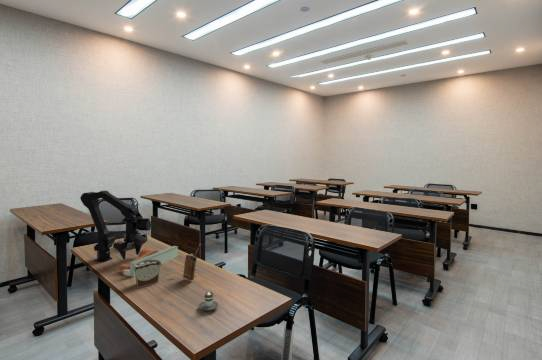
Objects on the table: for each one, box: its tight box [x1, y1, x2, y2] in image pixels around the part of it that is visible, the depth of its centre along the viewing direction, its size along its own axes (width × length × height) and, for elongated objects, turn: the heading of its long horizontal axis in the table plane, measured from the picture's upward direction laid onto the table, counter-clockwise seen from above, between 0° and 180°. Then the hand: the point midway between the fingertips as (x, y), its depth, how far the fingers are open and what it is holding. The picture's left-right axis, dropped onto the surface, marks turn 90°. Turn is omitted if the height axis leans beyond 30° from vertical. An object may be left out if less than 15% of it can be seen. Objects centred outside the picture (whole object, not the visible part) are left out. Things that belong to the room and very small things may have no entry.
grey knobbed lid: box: [198, 291, 219, 311], centre depth 115 cm, size 12×12×5 cm
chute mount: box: [123, 245, 179, 278], centre depth 156 cm, size 7×32×7 cm, turn 159°
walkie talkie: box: [166, 243, 202, 281], centre depth 138 cm, size 13×13×18 cm
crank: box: [118, 247, 159, 274], centre depth 153 cm, size 20×8×8 cm, turn 152°
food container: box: [133, 259, 162, 289], centre depth 133 cm, size 12×6×10 cm, turn 135°
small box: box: [123, 232, 142, 250], centre depth 185 cm, size 11×6×10 cm, turn 52°
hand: (130, 257), depth 161 cm, fingers open, 9 cm apart
